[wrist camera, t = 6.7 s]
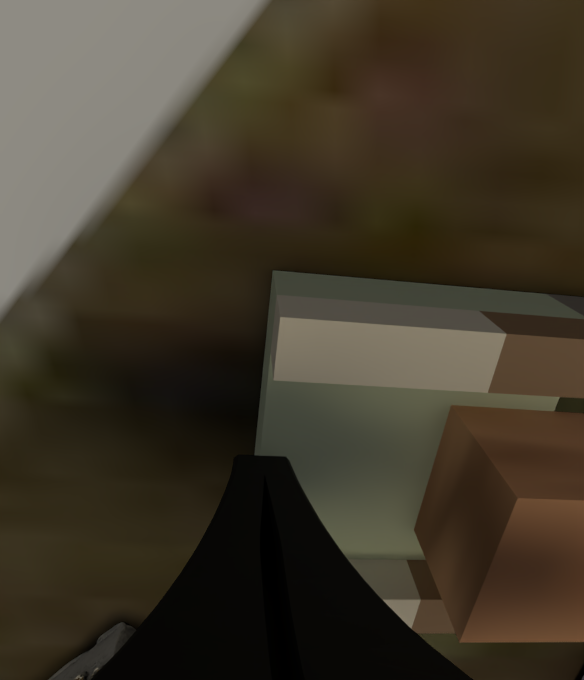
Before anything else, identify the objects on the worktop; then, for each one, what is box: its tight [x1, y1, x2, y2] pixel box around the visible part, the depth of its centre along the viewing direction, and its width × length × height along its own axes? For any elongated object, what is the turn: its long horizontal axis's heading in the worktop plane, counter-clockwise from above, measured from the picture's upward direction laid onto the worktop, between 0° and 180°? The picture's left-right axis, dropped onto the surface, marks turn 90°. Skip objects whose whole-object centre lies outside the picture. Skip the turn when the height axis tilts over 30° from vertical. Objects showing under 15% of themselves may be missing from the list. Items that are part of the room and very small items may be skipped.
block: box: [414, 405, 584, 642], centre depth 12 cm, size 4×4×4 cm
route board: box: [254, 270, 584, 633], centre depth 14 cm, size 10×13×3 cm
